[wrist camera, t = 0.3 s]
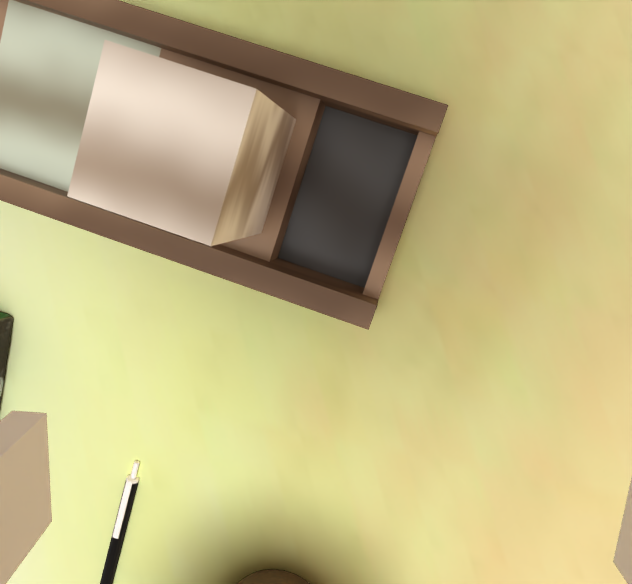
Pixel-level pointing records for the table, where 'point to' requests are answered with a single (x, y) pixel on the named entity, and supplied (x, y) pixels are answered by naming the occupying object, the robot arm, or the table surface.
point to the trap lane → (296, 173)
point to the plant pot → (272, 578)
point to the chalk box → (4, 344)
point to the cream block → (179, 148)
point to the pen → (120, 525)
